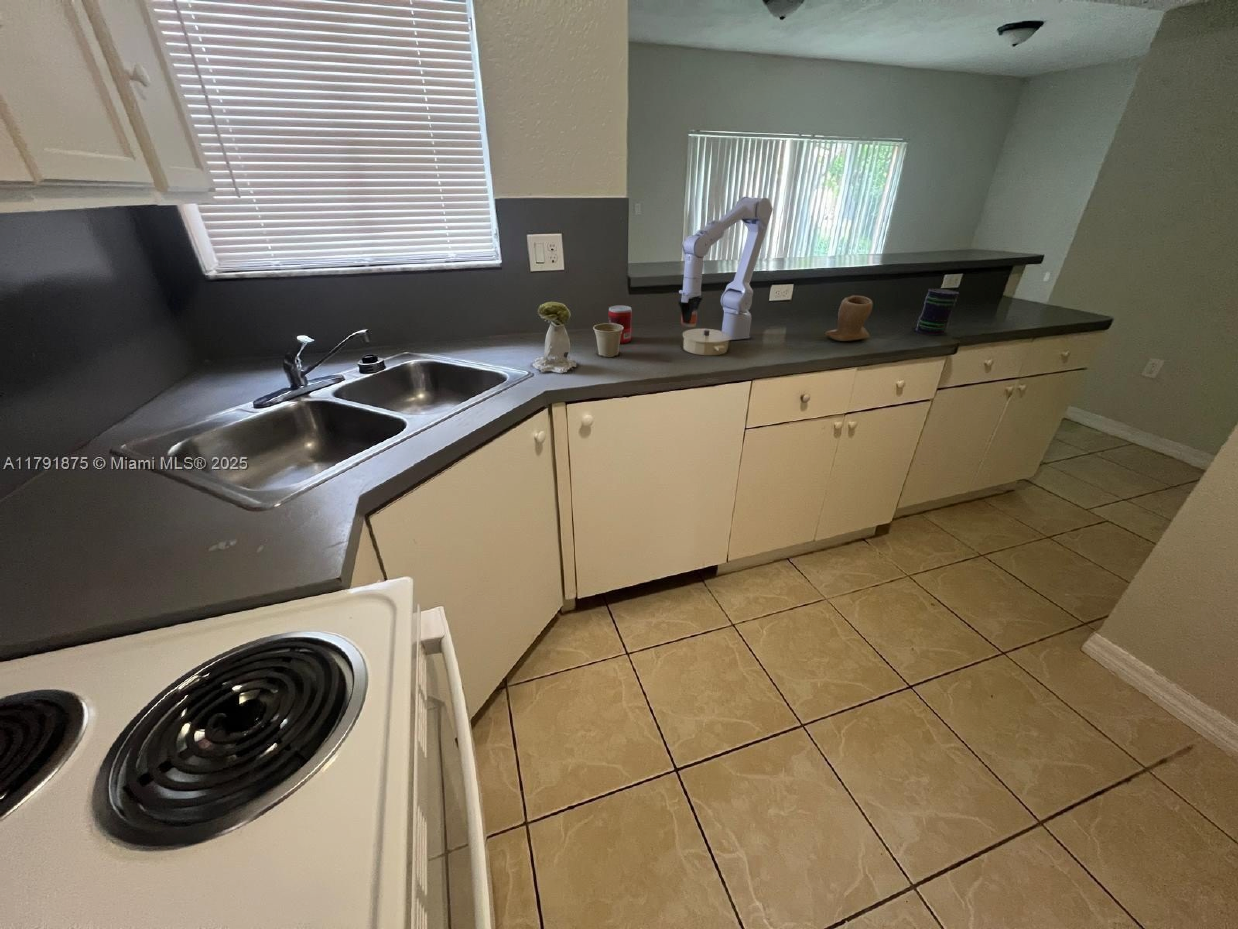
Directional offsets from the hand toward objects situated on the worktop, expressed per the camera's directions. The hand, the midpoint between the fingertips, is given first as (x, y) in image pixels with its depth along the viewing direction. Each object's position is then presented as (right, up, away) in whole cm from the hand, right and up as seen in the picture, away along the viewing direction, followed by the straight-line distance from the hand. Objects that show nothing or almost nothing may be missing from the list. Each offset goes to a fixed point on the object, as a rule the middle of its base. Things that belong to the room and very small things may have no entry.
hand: (688, 320), depth 160 cm
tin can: (0, -1, +1) cm, 1 cm away
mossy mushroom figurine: (-42, -19, -16) cm, 49 cm away
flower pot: (-27, -12, -5) cm, 30 cm away
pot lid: (+6, -5, 0) cm, 8 cm away
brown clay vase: (+59, -3, +14) cm, 61 cm away
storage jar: (+96, +3, +26) cm, 100 cm away
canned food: (-23, -5, +8) cm, 25 cm away
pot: (+6, -9, +2) cm, 11 cm away
